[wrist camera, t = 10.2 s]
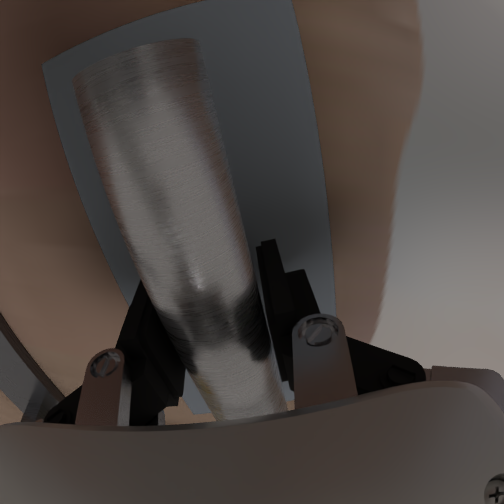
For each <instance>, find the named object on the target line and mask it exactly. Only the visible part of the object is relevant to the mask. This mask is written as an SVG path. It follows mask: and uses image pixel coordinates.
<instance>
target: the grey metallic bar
mask: <svg viewBox="0 0 504 504" xmlns="http://www.w3.org/2000/svg"><path fill="white" fill-rule="evenodd" d="M72 83H73V87H74V91H75V95H76V99H77V103H78V106H79V110H80V114H81V117H82V121H83V124H84V128H85V131H86V134H87V138H88V141H89V144H90V147H91V151H92V154H93V157H94V160H95V163H96V166H97V169H98V172H99V175H100V178H101V181H102V183H103V186H104V189H105V192H106V195H107V197H108V200H109V203H110V205H111V208H112V211H113V213H114V216H115V219H116V221H117V224H118V226H119V229H120V231H121V234H122V236H123V239H124V241H125V243H126V246H127V248H128V251H129V253H130V255H131V258H132V260H133V262H134V265H135V267H136V269H137V271H138V274H139V276H140V278H141V280H142V282H143V285H144V287H145V289H146V291H147V293H148V295H149V298H150V300H151V302H152V304H153V306H154V308H155V310H156V312H157V314H158V316H159V318H160V320H161V322H162V324H163V326H164V328H165V330H166V332H167V334H168V336H169V338H170V340H171V342H172V344H173V346H174V348H175V349H176V351H177V353H178V355H179V357H180V359H181V361H182V362H183V364H184V366H185V368H186V370H187V371H188V373H189V375H190V377H191V379H192V380H193V382H194V384H195V386H196V387H197V389H198V391H199V392H200V394H201V396H202V398H203V399H204V401H205V403H206V404H207V406H208V408H209V409H210V411H211V413H212V414H213V416H214V417H215V419H216V421H224V420H232V419H240V418H247V417H254V416H261V415H267V414H273V413H279V412H285V411H288V408H287V404H286V400H285V396H284V392H283V388H282V384H281V379H280V375H279V371H278V367H277V363H276V359H275V355H274V351H273V346H272V342H271V338H270V334H269V330H268V326H267V322H266V318H265V313H264V309H263V305H262V301H261V297H260V293H259V289H258V284H257V280H256V276H255V272H254V268H253V264H252V260H251V255H250V251H249V247H248V243H247V239H246V235H245V230H244V226H243V222H242V218H241V214H240V210H239V205H238V201H237V197H236V193H235V189H234V185H233V180H232V176H231V172H230V168H229V164H228V159H227V155H226V151H225V147H224V143H223V139H222V134H221V130H220V126H219V122H218V118H217V113H216V109H215V105H214V101H213V97H212V92H211V88H210V84H209V80H208V75H207V71H206V67H205V63H204V59H203V54H202V50H201V46H200V42H199V40H197V39H192V38H181V39H171V40H164V41H159V42H154V43H150V44H145V45H142V46H138V47H135V48H131V49H128V50H125V51H122V52H120V53H117V54H114V55H112V56H109V57H107V58H105V59H103V60H100V61H98V62H96V63H94V64H93V65H91V66H89V67H87V68H86V69H84V70H82V71H81V72H79V73H78V74H77V75H76V76H75V77H74V78H73V79H72Z"/></svg>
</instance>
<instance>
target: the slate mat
mask: <svg viewBox="0 0 504 504" xmlns="http://www.w3.org/2000/svg"><path fill="white" fill-rule="evenodd" d="M181 38H192V39H197V40H199V42H200V46H201V50H202V54H203V59H204V63H205V67H206V71H207V75H208V80H209V84H210V88H211V92H212V97H213V101H214V105H215V109H216V113H217V118H218V122H219V126H220V130H221V134H222V139H223V143H224V147H225V151H226V155H227V159H228V164H229V168H230V172H231V176H232V180H233V185H234V189H235V193H236V197H237V201H238V205H239V210H240V214H241V218H242V222H243V226H244V230H245V235H246V239H247V243H248V247H249V251H250V255H251V260H252V264H253V268H254V272H255V276H256V280H257V284H258V289H259V293H260V297H261V301H262V305H263V309H264V313H265V318H266V322H267V326H268V321H267V316H266V311H265V304H264V298H263V292H262V285H261V279H260V272H259V266H258V260H257V253H256V247H257V246H261V241H266V240H271V239H276V243H277V246H278V250H279V253H280V257H281V260H282V264H283V268H284V271H285V273H286V272H291V271H296V270H300V269H304V270H305V272H306V275H307V277H308V280H309V283H310V285H311V288H312V291H313V293H314V296H315V299H316V302H317V304H318V307H319V310H320V313H321V314H329V315H332V316H334V317H336V303H335V285H334V270H333V257H332V244H331V233H330V223H329V213H328V203H327V195H326V186H325V178H324V170H323V163H322V155H321V148H320V141H319V135H318V128H317V122H316V116H315V110H314V104H313V98H312V92H311V87H310V82H309V76H308V71H307V66H306V61H305V56H304V51H303V47H302V42H301V38H300V33H299V29H298V24H297V20H296V16H295V12H294V8H293V4H292V0H205V1H201V2H196V3H192V4H188V5H185V6H181V7H177V8H174V9H170V10H167V11H164V12H160V13H157V14H154V15H151V16H148V17H145V18H142V19H139V20H136V21H133V22H131V23H128V24H125V25H123V26H120V27H118V28H115V29H113V30H110V31H108V32H105V33H103V34H101V35H98V36H96V37H94V38H92V39H89V40H87V41H85V42H83V43H81V44H79V45H77V46H75V47H73V48H71V49H69V50H67V51H65V52H63V53H61V54H59V55H57V56H55V57H54V58H52V59H50V60H48V61H46V62H45V63H43V64H42V69H43V74H44V79H45V83H46V87H47V92H48V96H49V100H50V104H51V108H52V111H53V115H54V119H55V122H56V126H57V129H58V133H59V136H60V139H61V143H62V146H63V149H64V152H65V155H66V158H67V161H68V164H69V167H70V170H71V173H72V176H73V179H74V182H75V184H76V187H77V190H78V193H79V195H80V198H81V201H82V203H83V206H84V208H85V211H86V213H87V216H88V218H89V221H90V223H91V226H92V228H93V231H94V233H95V235H96V238H97V240H98V242H99V245H100V247H101V249H102V251H103V254H104V256H105V258H106V260H107V262H108V265H109V267H110V269H111V271H112V273H113V275H114V277H115V279H116V281H117V283H118V285H119V288H120V290H121V292H122V294H123V296H124V298H125V299H126V301H127V303H128V305H129V307H130V305H131V303H132V300H133V298H134V295H135V292H136V290H137V287H138V285H139V282H140V279H141V278H140V276H139V274H138V271H137V269H136V267H135V265H134V262H133V260H132V258H131V255H130V253H129V251H128V248H127V246H126V243H125V241H124V239H123V236H122V234H121V231H120V229H119V226H118V224H117V221H116V219H115V216H114V213H113V211H112V208H111V205H110V203H109V200H108V197H107V195H106V192H105V189H104V186H103V183H102V181H101V178H100V175H99V172H98V169H97V166H96V163H95V160H94V157H93V154H92V151H91V147H90V144H89V141H88V138H87V134H86V131H85V128H84V124H83V121H82V117H81V114H80V110H79V106H78V103H77V99H76V95H75V91H74V87H73V83H72V79H73V78H74V77H75V76H76V75H77V74H78V73H79V72H81V71H82V70H84V69H86V68H87V67H89V66H91V65H93V64H94V63H96V62H98V61H100V60H103V59H105V58H107V57H109V56H112V55H114V54H117V53H120V52H122V51H125V50H128V49H131V48H135V47H138V46H142V45H145V44H150V43H154V42H159V41H164V40H171V39H181ZM268 330H269V326H268ZM269 334H270V330H269ZM270 338H271V334H270ZM271 342H272V338H271ZM272 346H273V342H272ZM273 351H274V347H273ZM274 355H275V351H274ZM275 359H276V355H275ZM276 363H277V359H276ZM277 367H278V364H277ZM278 371H279V368H278ZM279 375H280V372H279ZM280 379H281V376H280ZM281 384H282V388H283V392H284V396H285V400H286V401H291V400H294V392H293V391H291V390H290V388H289V383H288V381H285V382H282V380H281ZM182 398H183V399H184V401H185V402H186V404H187V405H188V407H189V408H190V410H191V411H192V413H193V414H204V413H211V411H210V409H209V408H208V406H207V404H206V403H205V401H204V399H203V398H202V396H201V394H200V392H199V391H198V389H197V387H196V386H195V384H194V382H193V380H192V379H191V377H190V375H189V373H188V371H187V370H186V371H185V381H184V391H183V396H182Z"/></svg>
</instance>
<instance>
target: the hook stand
mask: <svg viewBox="0 0 504 504" xmlns="http://www.w3.org/2000/svg"><path fill="white" fill-rule="evenodd" d="M0 389H1V390H2V391H3V392H4V394H5V395H6V396H7V397H8V398H9V399H10V400H11V401H12V402H13V403H14V404H15V405H16V406H17V407H18V408H19V409H20V410H21V411H22V412H23V413H24V414H23V417H22V419H21V422H35V421H37V420H39V419H43V420H44V418H45V416H46V414H47V413H48V411H50V410H51V409H52V408H53V407H54V406H55V405H57V404H58V403H59V402H61V401H62V400H63V399H64V398H65V397H64V396H63V394H62V393H61V392H60V391H59V390H58V389H57V388H56V387H55V385H54V384H53V383H52V382H51V381H50V380H49V378H48V377H47V376H46V375H45V374H44V373H43V371H42V370H41V369H40V368H39V366H38V365H37V364H36V363H35V361H34V360H33V359H32V358H31V356H30V355H29V354H28V352H27V351H26V350H25V348H24V347H23V346H22V344H21V343H20V342H19V340H18V339H17V337H16V336H15V335H14V333H13V332H12V330H11V329H10V327H9V326H8V324H7V323H6V321H5V320H4V318H3V317H2V315H1V314H0Z"/></svg>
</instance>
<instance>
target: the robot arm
mask: <svg viewBox="0 0 504 504" xmlns="http://www.w3.org/2000/svg"><path fill="white" fill-rule="evenodd" d="M256 253H257V260H258V266H259V272H260V279H261V285H262V292H263V298H264V304H265V311H266V316H267V321H268V326H269V330H270V334H271V338H272V342H273V347H274V351H275V355H276V359H277V364H278V368H279V372H280V376H281V380H282V382H285V381H288V383H289V388H290V390H291V391H293V392H294V404H295V410H290V411H285V412H279V413H273V414H267V415H261V416H254V417H247V418H240V419H232V420H224V421H215V422H204V423H193V424H179V425H165V414H164V411H163V409H164V408H166V407H169V406H178V401H179V397H182V396H183V391H184V381H185V371H186V368H185V366H184V364H183V362H182V361H181V359H180V357H179V355H178V353H177V351H176V349H175V348H174V346H173V344H172V342H171V340H170V338H169V336H168V334H167V332H166V330H165V328H164V326H163V324H162V322H161V320H160V318H159V316H158V314H157V312H156V310H155V308H154V306H153V304H152V302H151V300H150V298H149V295H148V293H147V291H146V289H145V287H144V285H143V282H142V280H141V279H140V282H139V285H138V287H137V290H136V292H135V295H134V298H133V300H132V303H131V305H130V307H129V310H128V312H127V315H126V318H125V321H124V324H123V326H122V329H121V332H120V335H119V338H118V341H117V344H116V347H115V348H110V349H106V350H103V351H101V352H99V353H97V354H96V355H95V356H94V357H93V358H92V359H91V360H90V361H89V363H88V365H87V368H86V372H85V376H84V381H83V385H82V386H80V387H79V388H78V389H76V390H75V391H74V392H72V393H71V394H70V395H68V396H67V397H66V398H64V399H63V400H62V401H61V402H59V403H58V404H57V405H55V406H54V407H53V408H52V409H51V410H50V411H48V413H47V414H46V416H45V418H44V420H43V419H39V420H37V421H35V422H15V423H9V424H4V425H1V426H0V504H504V380H503V378H502V377H501V375H500V374H498V373H497V372H495V371H493V370H489V369H476V368H475V369H474V368H458V367H444V366H432V369H424V368H423V367H422V366H421V365H420V364H419V363H418V362H417V361H414V360H413V359H410V358H408V357H404V356H402V355H399V354H396V353H393V352H390V351H387V350H384V349H381V348H378V347H375V346H373V345H370V344H367V343H364V342H361V341H358V340H356V339H353V338H350V337H347V336H346V334H345V329H344V326H343V324H342V322H341V321H340V320H339V319H338V318H336V317H334V316H332V315H329V314H321V313H320V310H319V307H318V304H317V302H316V299H315V296H314V293H313V291H312V288H311V285H310V283H309V280H308V277H307V275H306V272H305V270H304V269H300V270H296V271H291V272H286V273H285V271H284V268H283V264H282V260H281V257H280V253H279V250H278V246H277V243H276V239H271V240H266V241H261V246H257V247H256Z"/></svg>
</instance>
